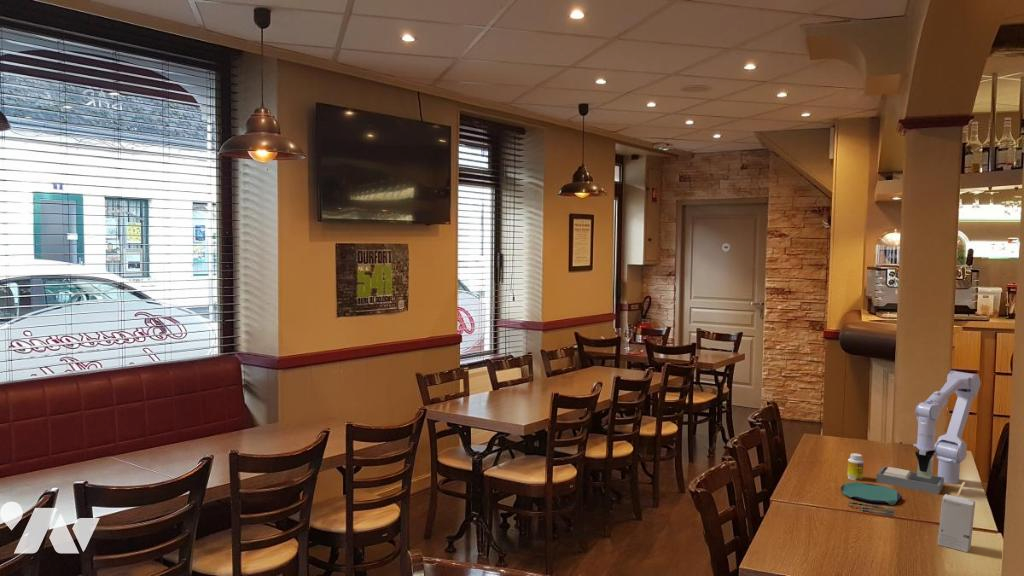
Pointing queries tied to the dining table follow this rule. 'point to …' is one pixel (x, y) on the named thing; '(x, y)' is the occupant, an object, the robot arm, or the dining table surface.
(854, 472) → the supplement bottle
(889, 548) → the dining table surface
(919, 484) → the tote
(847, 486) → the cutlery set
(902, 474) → the beige flat block
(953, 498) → the skincare box
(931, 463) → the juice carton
